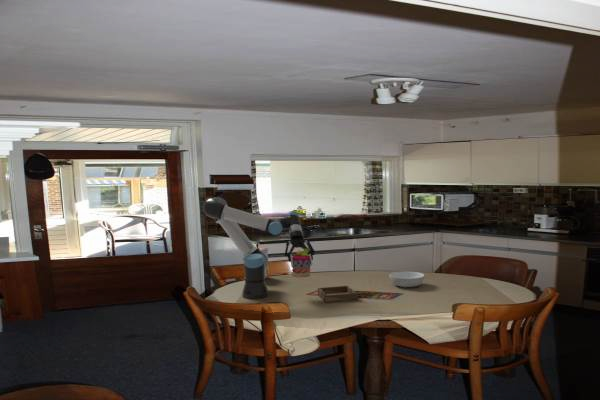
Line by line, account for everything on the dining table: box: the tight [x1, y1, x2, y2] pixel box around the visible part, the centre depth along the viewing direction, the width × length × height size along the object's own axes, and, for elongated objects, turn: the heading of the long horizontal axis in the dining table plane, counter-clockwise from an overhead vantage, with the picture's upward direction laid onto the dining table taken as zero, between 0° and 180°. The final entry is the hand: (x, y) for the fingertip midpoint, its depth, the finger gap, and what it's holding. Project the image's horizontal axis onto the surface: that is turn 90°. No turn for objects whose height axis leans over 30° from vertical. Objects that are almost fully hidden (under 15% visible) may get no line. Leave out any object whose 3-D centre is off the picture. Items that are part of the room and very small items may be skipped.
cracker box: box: [258, 246, 270, 280], centre depth 311 cm, size 14×6×21 cm, turn 160°
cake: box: [291, 248, 311, 278], centre depth 262 cm, size 10×11×15 cm
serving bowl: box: [388, 271, 426, 288], centre depth 283 cm, size 21×21×7 cm
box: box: [317, 285, 359, 304], centre depth 261 cm, size 18×18×4 cm
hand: (301, 265), depth 260 cm, fingers closed on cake, 10 cm apart
